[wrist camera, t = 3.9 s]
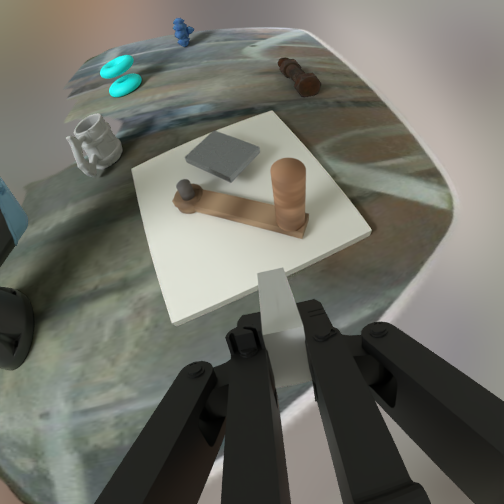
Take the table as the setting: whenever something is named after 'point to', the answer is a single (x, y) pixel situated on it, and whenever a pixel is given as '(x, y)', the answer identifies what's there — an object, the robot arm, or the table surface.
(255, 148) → the block
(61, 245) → the table surface
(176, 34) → the blue knobby flower
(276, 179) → the link
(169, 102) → the table surface
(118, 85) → the donuts
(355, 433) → the robot arm
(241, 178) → the base plate
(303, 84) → the bolt
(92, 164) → the mug
